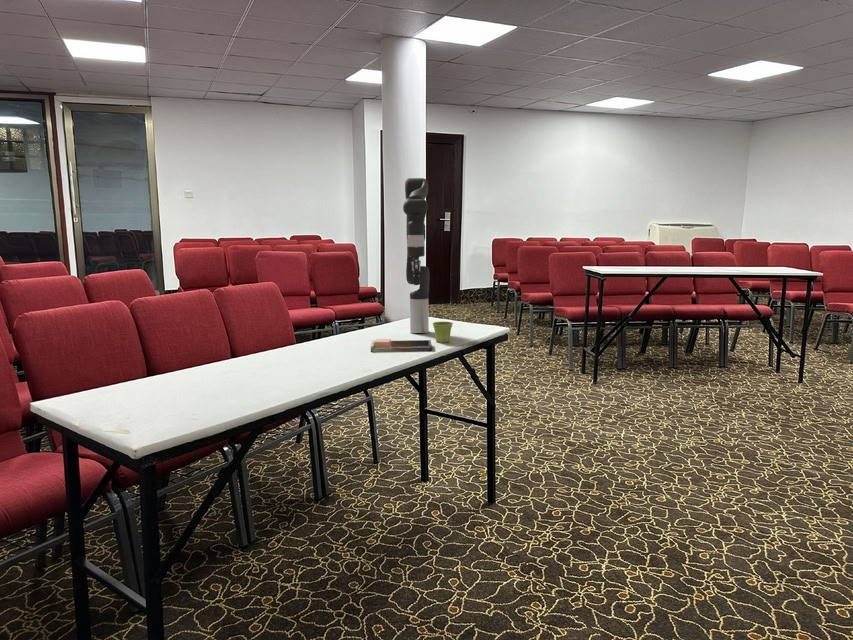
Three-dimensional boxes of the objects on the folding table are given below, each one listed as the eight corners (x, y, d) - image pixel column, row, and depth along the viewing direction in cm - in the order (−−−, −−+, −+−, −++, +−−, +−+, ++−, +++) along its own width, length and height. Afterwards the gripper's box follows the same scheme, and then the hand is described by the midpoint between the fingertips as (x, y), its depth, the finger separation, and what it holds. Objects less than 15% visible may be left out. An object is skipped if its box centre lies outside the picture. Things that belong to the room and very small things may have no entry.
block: (376, 347, 258) (376, 339, 257) (391, 347, 257) (390, 339, 257) (374, 351, 251) (374, 341, 251) (389, 351, 251) (388, 342, 250)
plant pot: (453, 343, 264) (453, 324, 263) (432, 343, 264) (432, 324, 263) (452, 339, 274) (452, 321, 272) (432, 339, 274) (432, 321, 272)
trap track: (372, 346, 260) (372, 340, 259) (430, 345, 261) (430, 340, 260) (370, 352, 248) (370, 346, 248) (431, 351, 249) (431, 345, 249)
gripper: (407, 245, 262) (407, 283, 265) (407, 246, 249) (408, 286, 252) (423, 244, 262) (424, 283, 265) (425, 246, 249) (425, 286, 252)
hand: (416, 284), depth 258 cm, fingers closed
